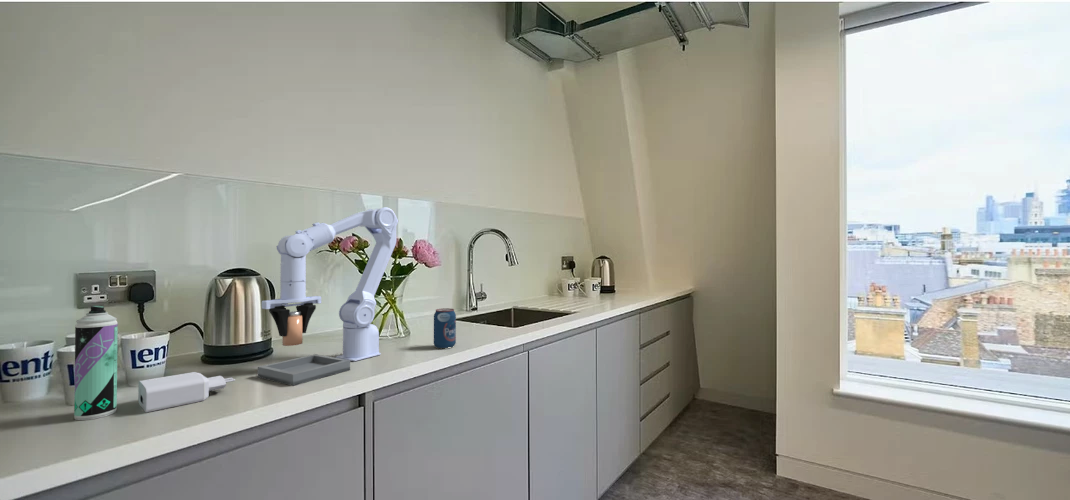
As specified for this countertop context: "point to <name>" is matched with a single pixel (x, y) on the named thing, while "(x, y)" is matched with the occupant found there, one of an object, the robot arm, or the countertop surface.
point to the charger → (177, 390)
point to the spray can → (95, 365)
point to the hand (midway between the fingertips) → (292, 334)
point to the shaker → (293, 329)
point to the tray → (303, 369)
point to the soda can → (444, 328)
